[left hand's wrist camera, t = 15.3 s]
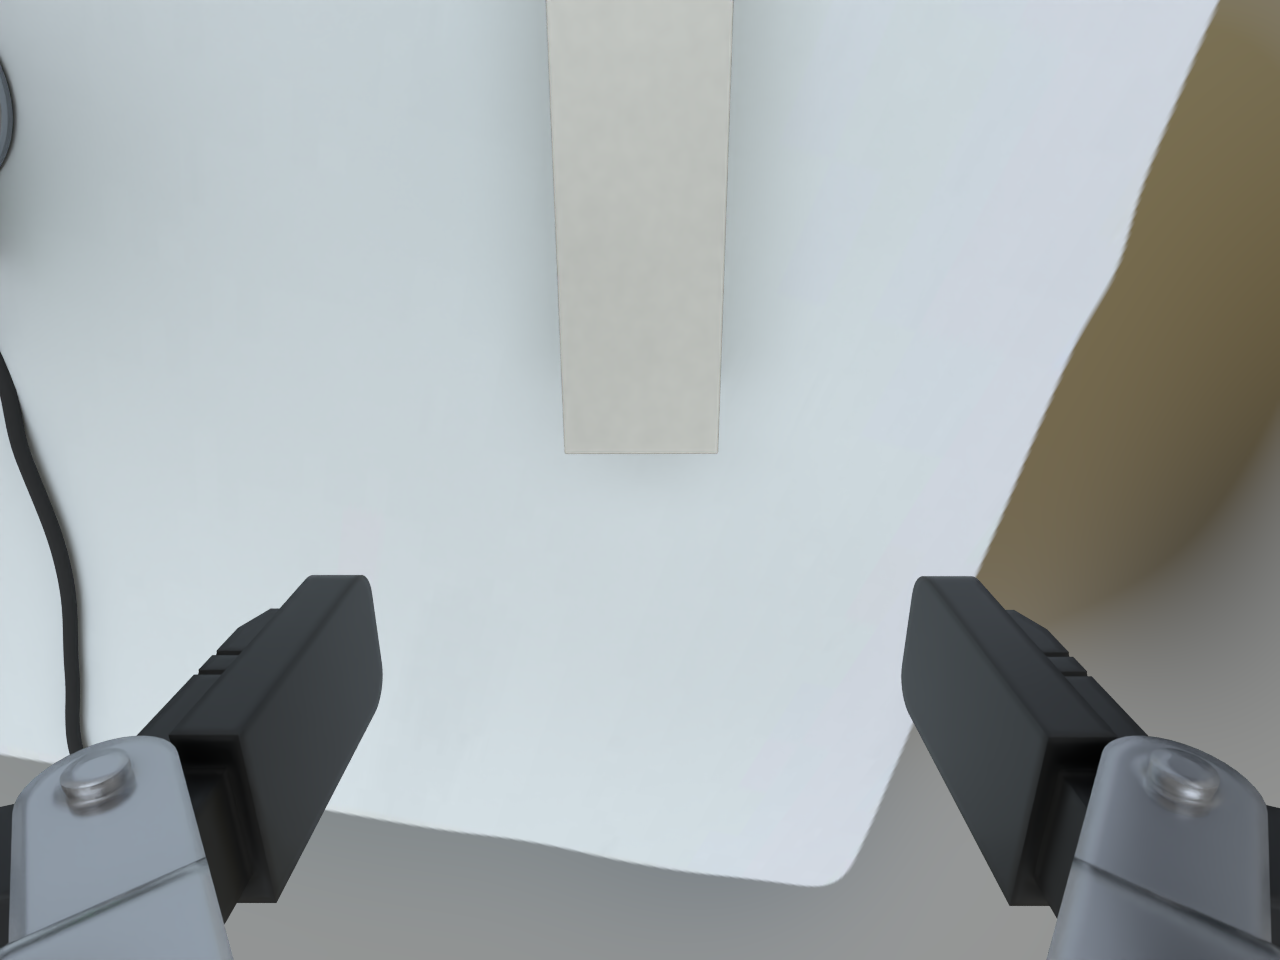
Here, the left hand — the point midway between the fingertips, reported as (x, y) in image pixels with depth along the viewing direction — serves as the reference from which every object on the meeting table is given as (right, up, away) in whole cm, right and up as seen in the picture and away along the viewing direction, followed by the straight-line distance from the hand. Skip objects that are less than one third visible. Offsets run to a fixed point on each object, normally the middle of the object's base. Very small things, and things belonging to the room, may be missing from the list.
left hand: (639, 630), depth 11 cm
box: (0, +19, +23) cm, 30 cm away
